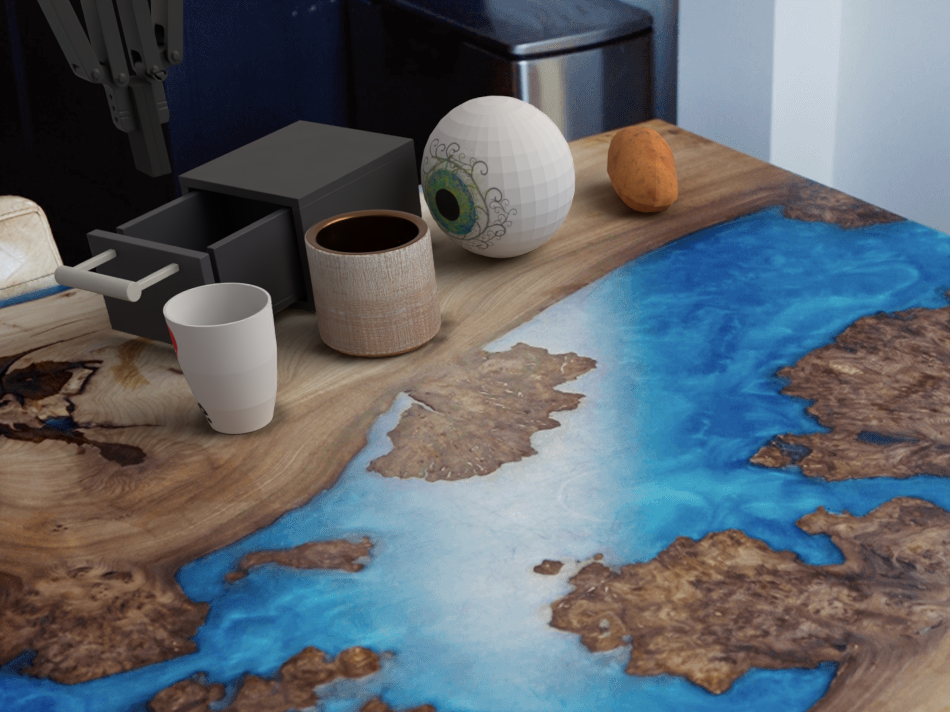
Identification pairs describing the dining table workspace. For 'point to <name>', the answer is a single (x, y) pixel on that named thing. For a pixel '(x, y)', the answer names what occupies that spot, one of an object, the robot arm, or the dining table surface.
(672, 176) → the potato
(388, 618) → the dining table surface
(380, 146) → the cabinet
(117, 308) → the drawer
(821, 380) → the dining table surface
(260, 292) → the cup
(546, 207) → the decorative object
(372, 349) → the planter
